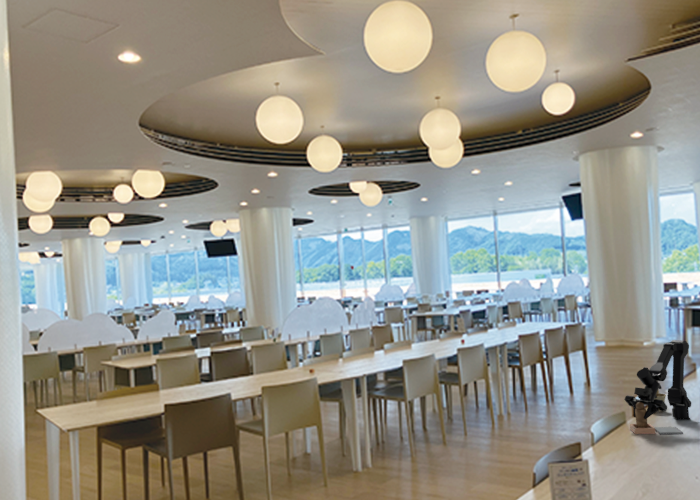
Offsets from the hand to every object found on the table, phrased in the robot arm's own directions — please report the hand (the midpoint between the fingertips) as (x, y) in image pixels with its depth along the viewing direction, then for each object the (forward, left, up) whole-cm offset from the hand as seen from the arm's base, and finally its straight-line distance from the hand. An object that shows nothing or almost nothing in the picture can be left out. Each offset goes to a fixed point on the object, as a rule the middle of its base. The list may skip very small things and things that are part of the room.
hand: (639, 417), depth 283 cm
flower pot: (-20, -43, -7) cm, 48 cm away
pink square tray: (-1, -1, -7) cm, 7 cm away
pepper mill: (-1, -1, -7) cm, 7 cm away
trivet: (-12, 0, -7) cm, 14 cm away
